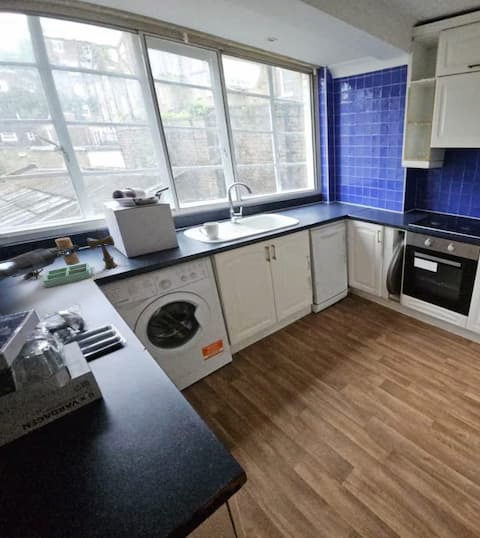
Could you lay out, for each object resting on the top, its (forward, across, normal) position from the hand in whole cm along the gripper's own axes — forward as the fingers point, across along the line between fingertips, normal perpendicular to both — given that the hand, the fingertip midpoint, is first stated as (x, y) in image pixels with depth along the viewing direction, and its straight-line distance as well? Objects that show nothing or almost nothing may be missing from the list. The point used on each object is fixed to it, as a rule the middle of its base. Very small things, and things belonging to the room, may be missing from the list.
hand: (72, 247), depth 137 cm
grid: (-2, -5, -14) cm, 15 cm away
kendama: (+9, +6, -14) cm, 18 cm away
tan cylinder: (-3, 0, -7) cm, 8 cm away
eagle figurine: (-2, -23, -14) cm, 27 cm away
